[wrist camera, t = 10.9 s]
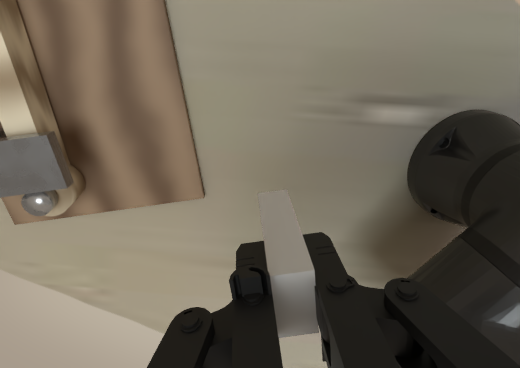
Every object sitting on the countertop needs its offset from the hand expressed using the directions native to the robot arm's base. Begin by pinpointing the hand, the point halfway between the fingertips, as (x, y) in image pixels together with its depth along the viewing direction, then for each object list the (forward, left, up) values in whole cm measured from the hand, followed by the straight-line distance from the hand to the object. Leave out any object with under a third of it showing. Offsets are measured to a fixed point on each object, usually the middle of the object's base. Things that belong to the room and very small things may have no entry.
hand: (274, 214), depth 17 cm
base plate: (+19, -5, -24) cm, 31 cm away
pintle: (+23, +5, -19) cm, 30 cm away
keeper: (+25, 0, -23) cm, 34 cm away
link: (+23, -5, -23) cm, 33 cm away
